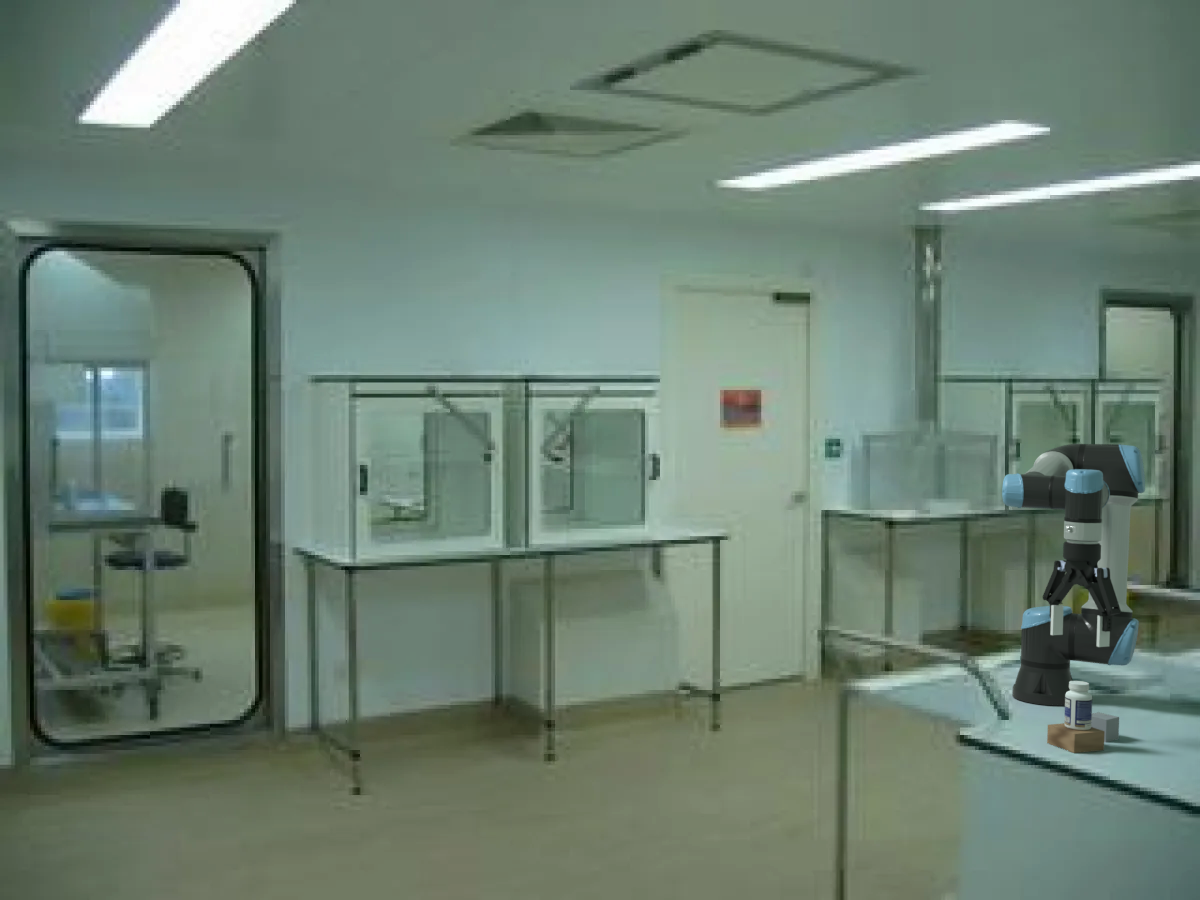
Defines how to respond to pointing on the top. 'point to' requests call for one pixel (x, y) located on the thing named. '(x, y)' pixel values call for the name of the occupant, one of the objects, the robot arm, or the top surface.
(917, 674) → the top surface
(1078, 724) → the pill bottle
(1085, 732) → the walnut block
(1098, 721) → the slate cube
